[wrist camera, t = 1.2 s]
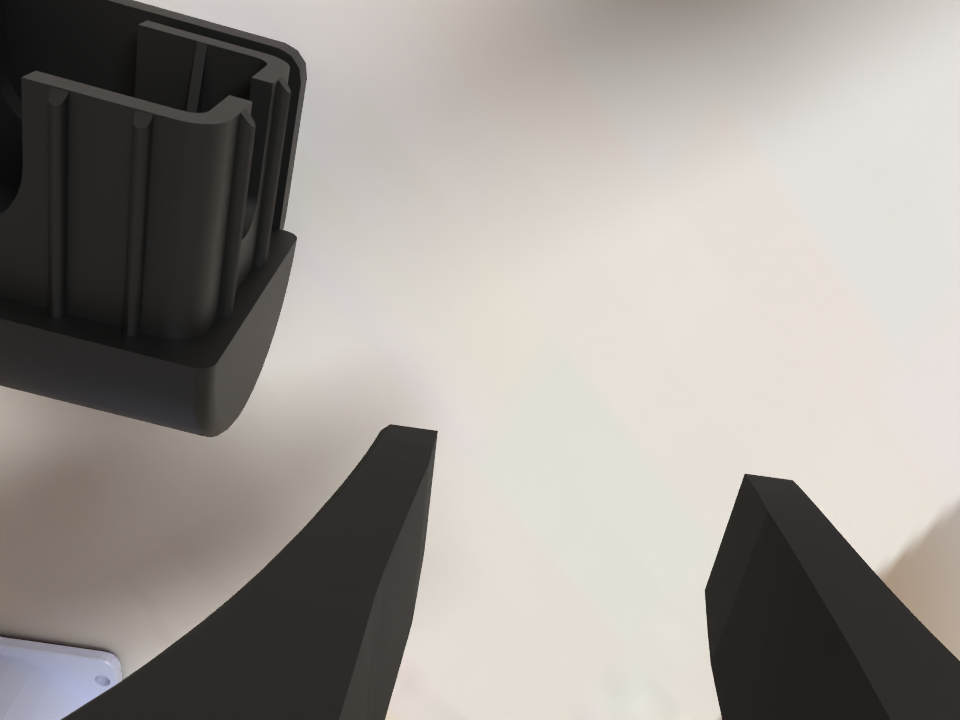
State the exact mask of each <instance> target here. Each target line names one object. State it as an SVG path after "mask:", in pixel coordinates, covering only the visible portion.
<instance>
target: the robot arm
mask: <svg viewBox="0 0 960 720" xmlns="http://www.w3.org/2000/svg"><path fill="white" fill-rule="evenodd" d="M437 432H438V431H434V430H427V429H420V428H413V427H406V426H398V425H391V424H390V425H389V426H387V427H385V428H384V429H382V430H381V431H380V433H379V434H378V436H377V438H376V439H375V441H374V442H373V444H372V445H371V447H370V448H369V450H368V451H367V453H366V454H365V455H364V457H363V458H362V459H361V461H360V462H359V463H358V465H357V466H356V467H355V469H354V470H353V471H352V472H351V474H350V475H349V476H348V478H347V479H346V480H345V481H344V483H343V484H342V485H341V486H340V487H339V489H338V490H337V491H336V492H335V493H334V494H333V496H332V497H331V498H330V499H329V500H328V501H327V502H326V504H325V505H324V506H323V507H322V508H321V509H320V510H319V512H318V513H317V514H316V515H315V516H314V517H313V518H312V520H311V521H310V522H309V523H308V524H307V525H306V526H305V527H304V528H303V529H302V530H301V531H300V532H299V533H298V534H297V535H296V536H295V537H294V538H293V539H292V540H291V541H290V542H289V543H288V544H287V545H286V546H285V547H284V548H283V549H282V550H281V551H280V552H279V553H278V554H277V555H276V556H275V557H274V558H273V559H272V560H271V561H270V562H269V563H268V564H267V565H266V566H265V567H264V568H263V569H262V570H261V571H260V572H259V573H258V574H257V575H256V576H255V577H254V578H253V579H251V580H250V581H249V582H248V583H247V584H246V585H245V586H244V587H243V588H242V589H240V590H239V591H238V592H237V593H236V594H235V595H234V596H232V597H231V598H230V599H229V600H228V601H227V602H225V603H224V604H223V605H222V606H221V607H219V608H218V609H217V610H216V611H215V612H213V613H212V614H211V615H210V616H209V617H207V618H206V619H205V620H204V621H202V622H201V623H200V624H199V625H197V626H196V627H195V628H193V629H192V630H191V631H189V632H188V633H187V634H186V635H184V636H183V637H182V638H180V639H179V640H178V641H176V642H175V643H174V644H172V645H171V646H170V647H168V648H167V649H166V650H164V651H163V652H162V653H160V654H159V655H158V656H156V657H155V658H154V659H152V660H151V661H150V662H148V663H147V664H145V665H144V666H142V667H141V668H140V669H138V670H137V671H135V672H134V673H133V674H131V675H130V676H128V677H127V678H125V679H124V680H123V679H122V672H121V664H120V662H119V660H118V658H117V657H116V656H115V655H113V654H111V653H108V652H104V651H97V650H90V649H83V648H76V647H69V646H62V645H55V644H48V643H41V642H34V641H27V640H19V639H12V638H5V637H0V720H385V717H386V714H387V710H388V706H389V703H390V699H391V696H392V692H393V689H394V685H395V682H396V678H397V675H398V671H399V667H400V664H401V660H402V657H403V653H404V650H405V646H406V642H407V639H408V635H409V632H410V628H411V624H412V620H413V614H414V609H415V603H416V597H417V591H418V585H419V579H420V573H421V568H422V562H423V556H424V549H425V540H426V531H427V522H428V513H429V504H430V495H431V486H432V477H433V468H434V459H435V450H436V441H437ZM705 600H706V614H707V628H708V639H709V650H710V660H711V667H712V672H713V677H714V682H715V687H716V692H717V696H718V701H719V706H720V710H721V715H722V720H960V661H959V660H958V659H957V658H956V657H955V656H954V655H953V654H952V653H951V652H950V651H949V650H948V649H947V648H946V647H945V646H944V645H943V644H942V643H941V642H940V641H939V640H938V639H937V638H936V637H935V636H934V635H933V634H932V633H931V632H930V631H929V630H928V629H927V628H926V627H925V626H924V625H923V624H922V623H921V622H920V621H919V620H918V619H917V618H916V617H915V616H914V615H913V614H912V613H911V612H910V610H909V609H908V608H907V607H906V606H905V605H904V604H903V603H902V602H901V601H900V600H899V599H898V598H897V597H896V596H895V594H894V593H893V592H892V591H891V590H890V589H889V588H888V587H887V586H886V585H885V583H884V582H883V581H882V580H881V579H880V578H879V577H878V576H877V575H876V574H875V572H874V571H873V570H872V569H871V568H870V567H869V566H868V565H867V563H866V562H865V561H864V560H863V559H862V558H861V557H860V556H859V554H858V553H857V552H856V551H855V550H854V549H853V548H852V546H851V545H850V544H849V543H848V542H847V541H846V540H845V538H844V537H843V536H842V535H841V534H840V533H839V531H838V530H837V529H836V528H835V527H834V526H833V525H832V523H831V522H830V521H829V520H828V519H827V518H826V517H825V515H824V514H823V513H822V512H821V511H820V510H819V508H818V507H817V506H816V505H815V504H814V503H813V502H812V501H811V499H810V498H809V497H808V496H807V495H806V494H805V493H804V492H803V491H802V490H801V488H800V487H799V486H798V485H797V484H796V483H795V482H794V481H793V480H786V479H779V478H771V477H764V476H757V475H750V474H745V475H744V478H743V481H742V484H741V487H740V489H739V492H738V495H737V498H736V501H735V504H734V507H733V510H732V513H731V516H730V519H729V522H728V524H727V527H726V530H725V533H724V536H723V539H722V542H721V545H720V548H719V551H718V554H717V556H716V559H715V562H714V565H713V568H712V571H711V574H710V577H709V580H708V583H707V586H706V589H705Z"/></svg>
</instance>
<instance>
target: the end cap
mask: <svg viewBox="0 0 960 720" xmlns="http://www.w3.org/2000/svg"><path fill="white" fill-rule="evenodd" d="M306 80H307V74H306V63H305V62H304V60H303V58H302V57H301V55H300V54H299V52H298V50H296V49H294V48H293V47H291V46H289V45H288V44H286V43H283V42H280V41H276V40H272V39H269V38H265V37H262V36H258V35H255V34H251V33H247V32H244V31H240V30H237V29H233V28H230V27H226V26H222V25H219V24H215V23H212V22H208V21H205V20H201V19H198V18H194V17H190V16H187V15H183V14H180V13H176V12H173V11H169V10H165V9H162V8H158V7H155V6H151V5H148V4H144V3H140V2H137V1H133V0H0V385H1V386H5V387H9V388H13V389H17V390H21V391H25V392H29V393H33V394H37V395H41V396H45V397H49V398H53V399H57V400H61V401H65V402H69V403H73V404H77V405H81V406H85V407H89V408H93V409H97V410H101V411H105V412H109V413H113V414H117V415H121V416H125V417H129V418H133V419H137V420H141V421H145V422H149V423H153V424H157V425H161V426H165V427H169V428H173V429H177V430H181V431H185V432H189V433H193V434H197V435H201V436H206V437H214V436H217V435H219V434H221V433H222V432H224V431H226V430H227V429H228V428H229V427H230V426H231V425H232V424H233V422H234V421H235V420H236V419H237V418H238V416H239V415H240V413H241V411H242V410H243V408H244V407H245V405H246V403H247V401H248V399H249V397H250V395H251V393H252V391H253V389H254V386H255V384H256V382H257V379H258V377H259V375H260V372H261V370H262V367H263V364H264V361H265V359H266V356H267V353H268V351H269V348H270V345H271V341H272V338H273V335H274V332H275V329H276V326H277V322H278V319H279V315H280V312H281V308H282V305H283V301H284V297H285V293H286V289H287V285H288V280H289V276H290V271H291V267H292V262H293V257H294V251H295V246H296V240H297V237H296V236H295V235H294V234H293V233H291V232H288V231H284V230H283V228H284V223H285V218H286V212H287V206H288V199H289V193H290V186H291V179H292V173H293V166H294V159H295V153H296V146H297V140H298V133H299V126H300V120H301V113H302V106H303V100H304V93H305V87H306Z"/></svg>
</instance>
